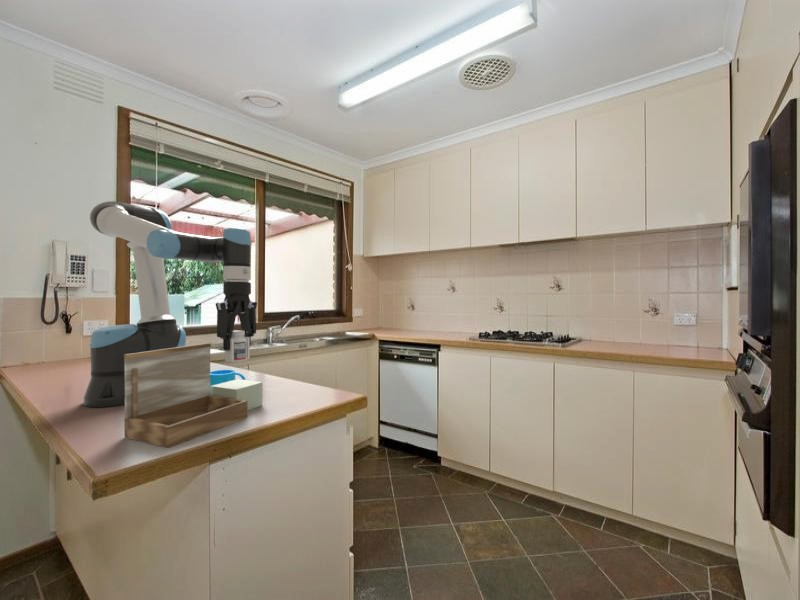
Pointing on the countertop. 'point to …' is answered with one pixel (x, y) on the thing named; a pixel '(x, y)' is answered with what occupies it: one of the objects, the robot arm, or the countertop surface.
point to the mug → (222, 377)
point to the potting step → (240, 391)
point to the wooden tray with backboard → (174, 396)
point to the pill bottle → (239, 345)
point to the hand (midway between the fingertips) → (237, 359)
